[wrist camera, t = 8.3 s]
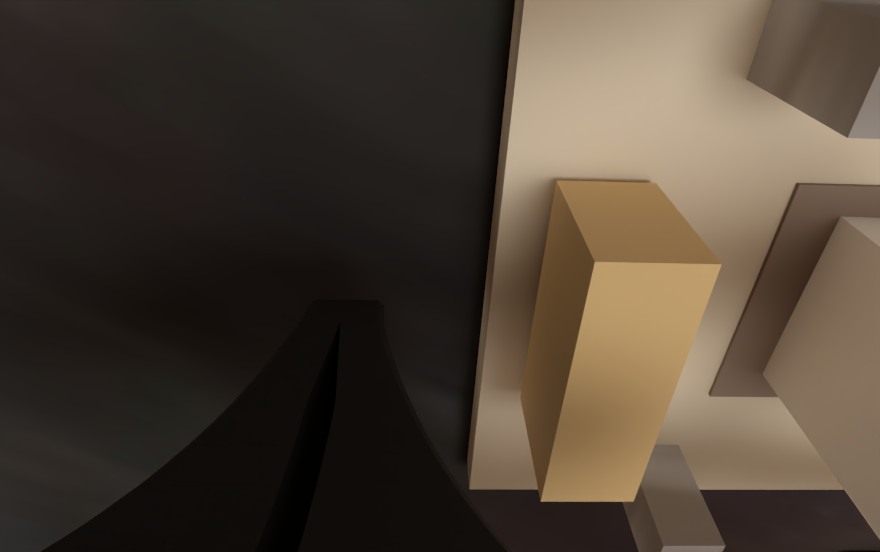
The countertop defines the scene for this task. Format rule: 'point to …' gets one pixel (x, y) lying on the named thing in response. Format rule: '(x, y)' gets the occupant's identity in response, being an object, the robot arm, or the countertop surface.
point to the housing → (838, 361)
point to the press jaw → (609, 335)
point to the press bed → (685, 215)
